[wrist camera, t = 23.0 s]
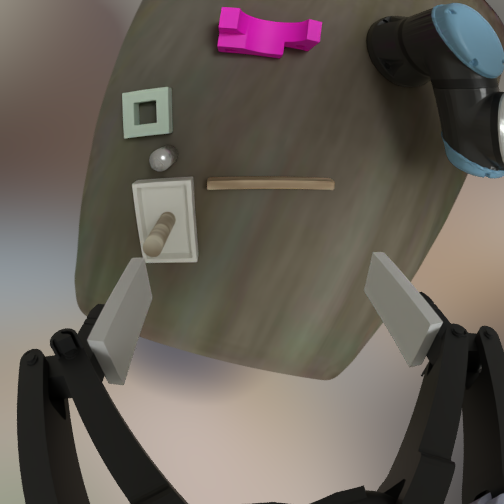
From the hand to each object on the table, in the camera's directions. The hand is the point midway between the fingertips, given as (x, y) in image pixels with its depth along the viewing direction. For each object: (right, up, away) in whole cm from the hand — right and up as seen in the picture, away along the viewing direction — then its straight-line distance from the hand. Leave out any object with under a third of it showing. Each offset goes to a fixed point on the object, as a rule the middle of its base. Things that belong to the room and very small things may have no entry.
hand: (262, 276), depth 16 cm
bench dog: (-15, +18, +31) cm, 39 cm away
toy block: (+2, +37, +23) cm, 44 cm away
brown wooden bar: (+3, +14, +34) cm, 37 cm away
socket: (-18, +25, +27) cm, 41 cm away
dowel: (-16, +7, +36) cm, 40 cm away
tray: (-16, +8, +36) cm, 41 cm away
